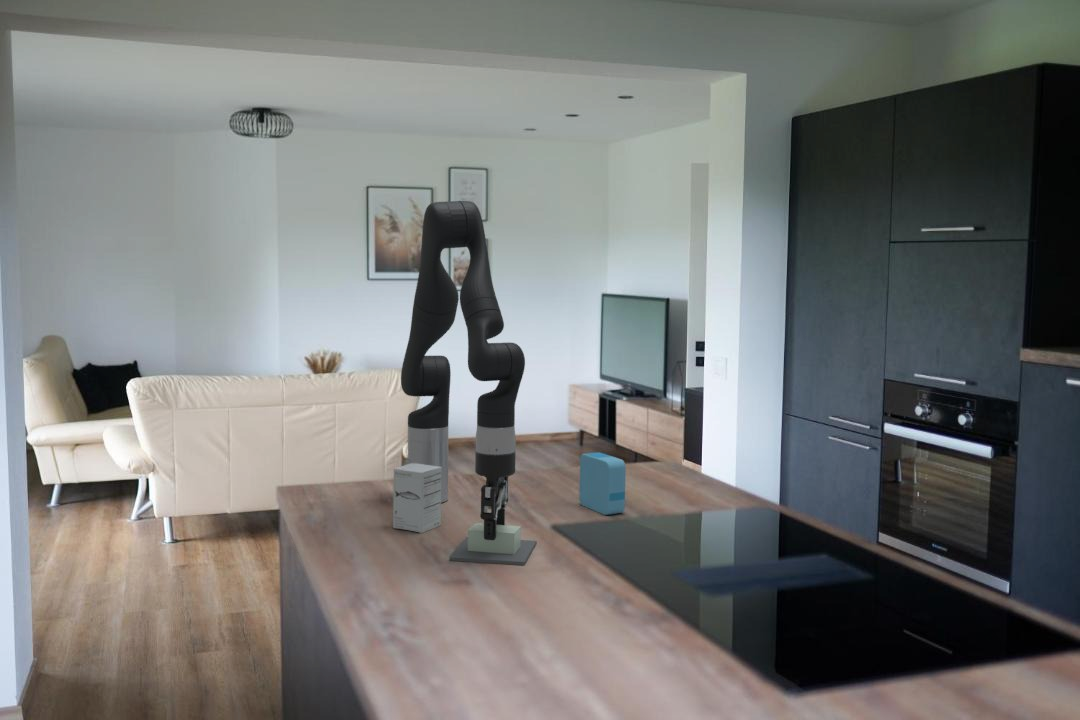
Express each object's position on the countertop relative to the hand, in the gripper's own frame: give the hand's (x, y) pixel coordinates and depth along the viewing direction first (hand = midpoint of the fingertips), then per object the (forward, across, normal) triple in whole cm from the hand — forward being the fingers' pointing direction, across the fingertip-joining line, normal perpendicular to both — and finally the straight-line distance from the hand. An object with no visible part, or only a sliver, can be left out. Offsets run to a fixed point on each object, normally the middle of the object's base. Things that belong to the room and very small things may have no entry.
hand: (494, 533), depth 187 cm
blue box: (+4, +37, -17) cm, 41 cm away
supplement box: (+4, +14, +19) cm, 24 cm away
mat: (+4, 0, 0) cm, 4 cm away
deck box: (+3, 0, 0) cm, 3 cm away
